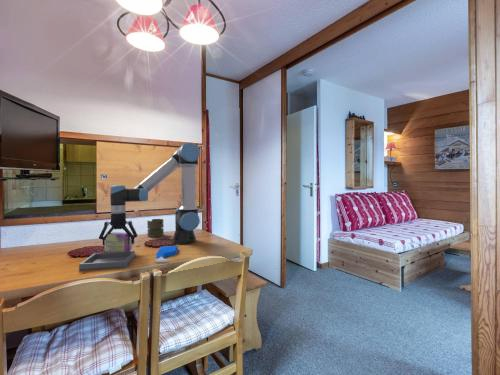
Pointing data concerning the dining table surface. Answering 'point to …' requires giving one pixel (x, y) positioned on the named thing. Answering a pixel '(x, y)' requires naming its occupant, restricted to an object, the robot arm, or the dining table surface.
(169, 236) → the dining table surface
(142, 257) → the dining table surface
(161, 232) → the dark green block
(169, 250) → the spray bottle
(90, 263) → the tray
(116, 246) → the box
